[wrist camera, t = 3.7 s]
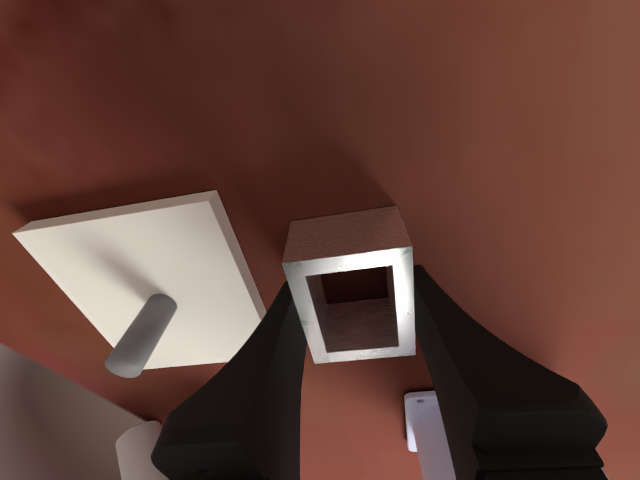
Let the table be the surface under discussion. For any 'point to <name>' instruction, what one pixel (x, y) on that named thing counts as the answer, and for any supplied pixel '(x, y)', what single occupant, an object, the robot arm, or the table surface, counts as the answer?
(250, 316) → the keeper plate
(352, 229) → the hollow square tube
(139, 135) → the table surface
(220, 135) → the table surface
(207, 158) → the table surface
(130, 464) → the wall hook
